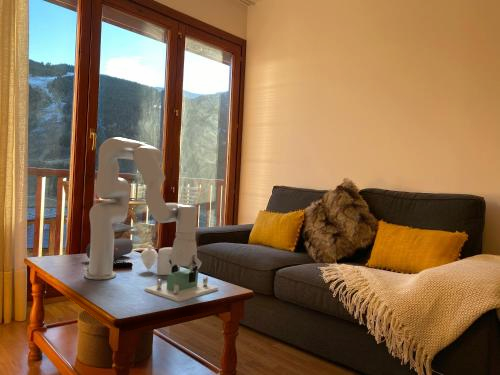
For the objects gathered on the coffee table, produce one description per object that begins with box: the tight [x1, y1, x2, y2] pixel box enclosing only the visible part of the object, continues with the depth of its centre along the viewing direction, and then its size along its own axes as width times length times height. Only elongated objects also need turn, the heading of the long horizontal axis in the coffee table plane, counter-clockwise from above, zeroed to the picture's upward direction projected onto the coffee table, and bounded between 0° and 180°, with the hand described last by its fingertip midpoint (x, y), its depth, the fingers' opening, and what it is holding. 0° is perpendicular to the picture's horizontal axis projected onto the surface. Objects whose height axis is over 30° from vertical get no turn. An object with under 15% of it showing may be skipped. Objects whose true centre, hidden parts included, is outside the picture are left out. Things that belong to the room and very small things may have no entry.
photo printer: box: [156, 246, 181, 276], centre depth 181 cm, size 10×4×12 cm, turn 100°
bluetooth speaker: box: [85, 238, 134, 260], centre depth 205 cm, size 23×9×10 cm, turn 149°
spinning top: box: [140, 244, 158, 272], centre depth 185 cm, size 8×8×12 cm
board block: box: [166, 268, 199, 291], centre depth 158 cm, size 5×12×6 cm, turn 145°
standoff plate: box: [145, 276, 219, 303], centre depth 158 cm, size 18×22×5 cm
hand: (183, 279), depth 158 cm, fingers open, 9 cm apart
